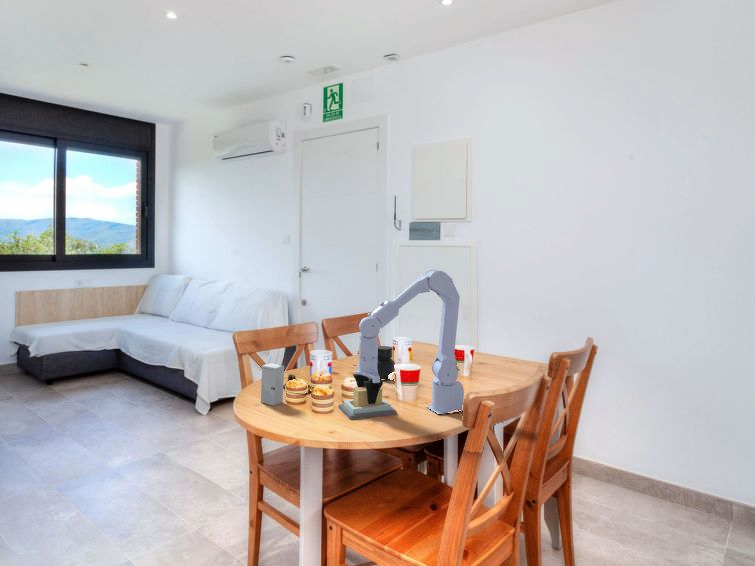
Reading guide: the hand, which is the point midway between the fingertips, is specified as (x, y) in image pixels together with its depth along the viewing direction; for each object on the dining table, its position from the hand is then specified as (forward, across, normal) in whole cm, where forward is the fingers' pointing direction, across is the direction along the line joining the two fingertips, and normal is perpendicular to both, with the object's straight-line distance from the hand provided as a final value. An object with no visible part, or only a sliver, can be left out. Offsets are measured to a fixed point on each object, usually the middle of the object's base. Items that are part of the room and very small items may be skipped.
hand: (367, 399), depth 147 cm
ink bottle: (+4, -34, +20) cm, 40 cm away
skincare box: (+4, -17, -26) cm, 31 cm away
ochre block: (+2, 0, 0) cm, 2 cm away
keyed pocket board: (+3, 0, 0) cm, 3 cm away
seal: (+4, -30, -15) cm, 33 cm away
